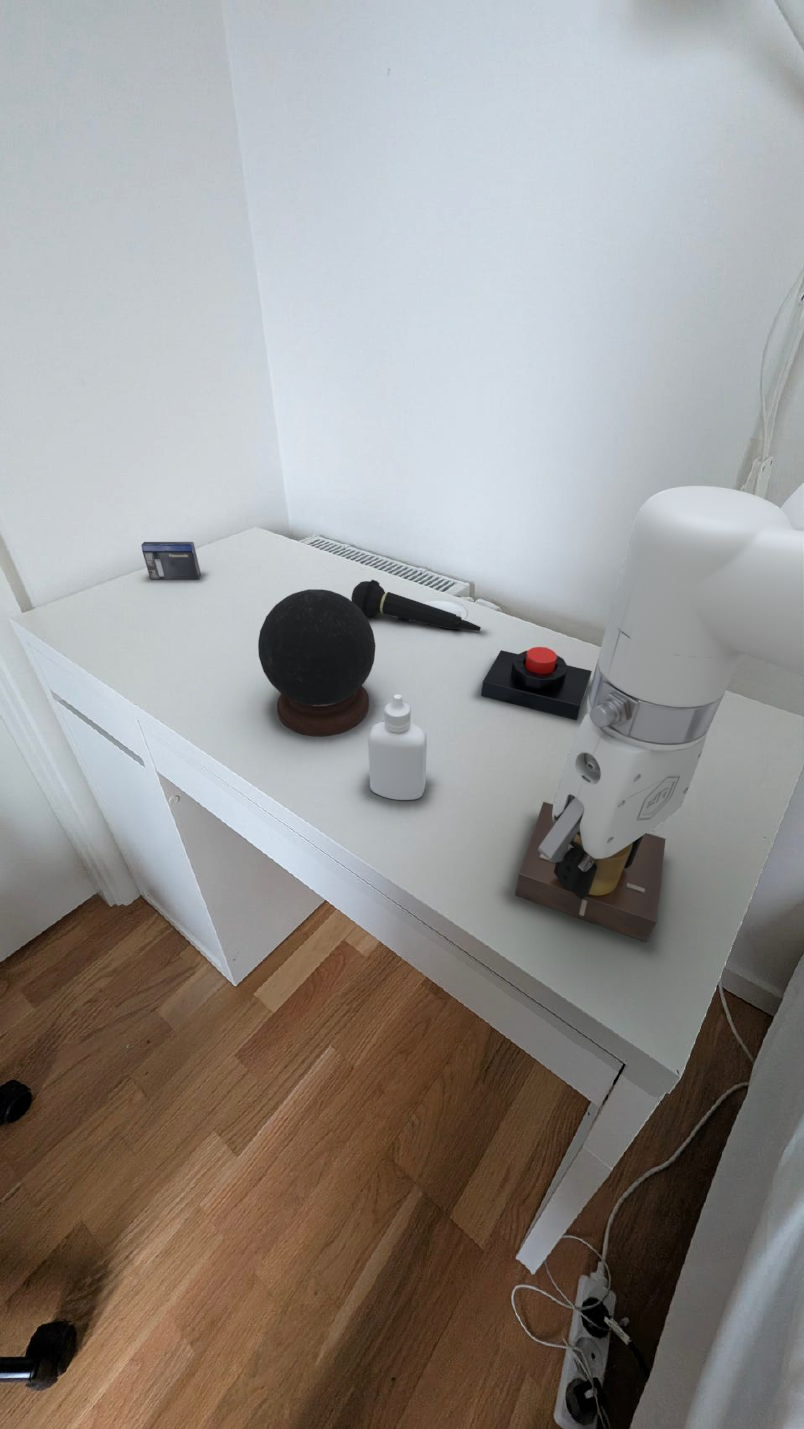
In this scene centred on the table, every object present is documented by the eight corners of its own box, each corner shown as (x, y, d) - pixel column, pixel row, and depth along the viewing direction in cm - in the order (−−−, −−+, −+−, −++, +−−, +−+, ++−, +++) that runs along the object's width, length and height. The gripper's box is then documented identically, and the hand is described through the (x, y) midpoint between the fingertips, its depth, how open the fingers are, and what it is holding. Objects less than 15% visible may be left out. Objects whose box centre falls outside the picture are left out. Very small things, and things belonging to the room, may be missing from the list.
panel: (656, 859, 53) (666, 837, 51) (644, 962, 46) (655, 940, 44) (538, 822, 57) (543, 799, 55) (508, 911, 49) (513, 889, 47)
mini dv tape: (150, 579, 98) (140, 545, 94) (153, 575, 99) (143, 541, 96) (198, 579, 98) (190, 545, 95) (201, 575, 99) (193, 541, 96)
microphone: (477, 643, 88) (355, 609, 91) (487, 606, 86) (362, 573, 89) (472, 652, 83) (343, 615, 86) (483, 613, 81) (350, 577, 84)
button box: (588, 684, 75) (595, 658, 72) (576, 720, 69) (583, 693, 67) (498, 663, 79) (502, 638, 76) (480, 695, 73) (483, 669, 70)
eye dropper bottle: (391, 765, 63) (390, 674, 55) (431, 789, 60) (436, 697, 53) (363, 787, 60) (358, 695, 53) (404, 813, 57) (405, 720, 50)
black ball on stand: (312, 665, 78) (300, 560, 69) (397, 694, 73) (396, 585, 64) (246, 718, 69) (222, 606, 60) (337, 756, 64) (326, 639, 55)
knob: (588, 843, 51) (601, 804, 48) (629, 879, 48) (645, 839, 45) (553, 867, 49) (563, 827, 46) (593, 905, 46) (607, 865, 43)
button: (557, 662, 72) (559, 650, 71) (551, 677, 70) (553, 665, 69) (529, 656, 73) (531, 644, 72) (521, 670, 71) (523, 658, 70)
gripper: (609, 783, 31) (552, 960, 42) (781, 681, 38) (693, 854, 50) (513, 710, 36) (485, 886, 47) (682, 632, 43) (622, 800, 54)
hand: (592, 868), depth 48 cm, fingers closed on knob, 4 cm apart
